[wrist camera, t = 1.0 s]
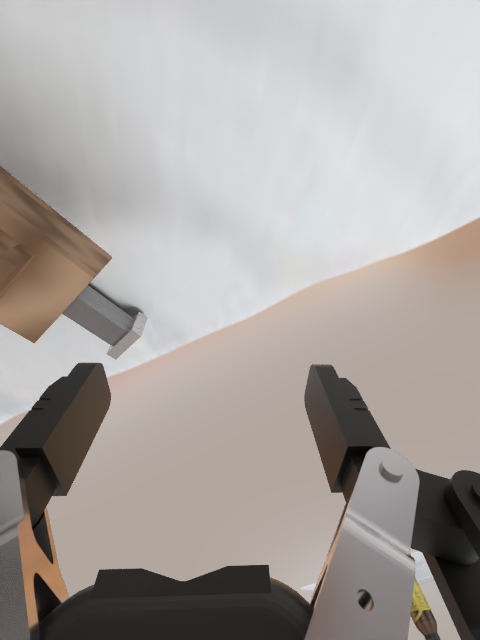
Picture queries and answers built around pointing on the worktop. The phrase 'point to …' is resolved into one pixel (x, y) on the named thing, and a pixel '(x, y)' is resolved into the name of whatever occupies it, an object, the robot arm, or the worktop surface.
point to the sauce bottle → (423, 614)
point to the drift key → (106, 320)
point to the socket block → (39, 261)
